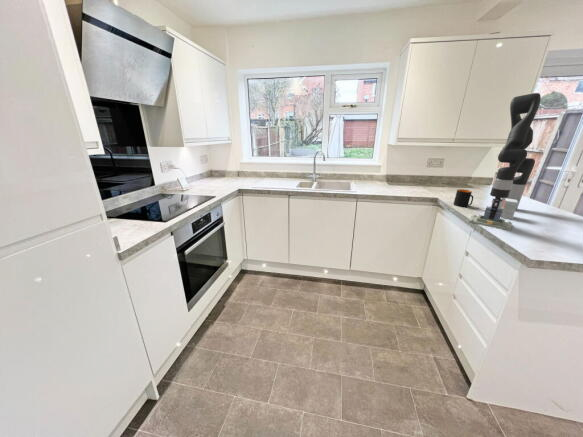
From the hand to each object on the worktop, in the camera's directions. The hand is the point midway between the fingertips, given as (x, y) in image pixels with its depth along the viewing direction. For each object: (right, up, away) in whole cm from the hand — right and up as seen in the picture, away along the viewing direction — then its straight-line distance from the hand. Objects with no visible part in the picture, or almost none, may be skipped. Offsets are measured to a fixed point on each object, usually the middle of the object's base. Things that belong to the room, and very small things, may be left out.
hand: (491, 217), depth 129 cm
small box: (+19, 0, +12) cm, 22 cm away
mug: (+8, +8, +32) cm, 34 cm away
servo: (0, -1, 0) cm, 1 cm away
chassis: (0, -3, +1) cm, 3 cm away
